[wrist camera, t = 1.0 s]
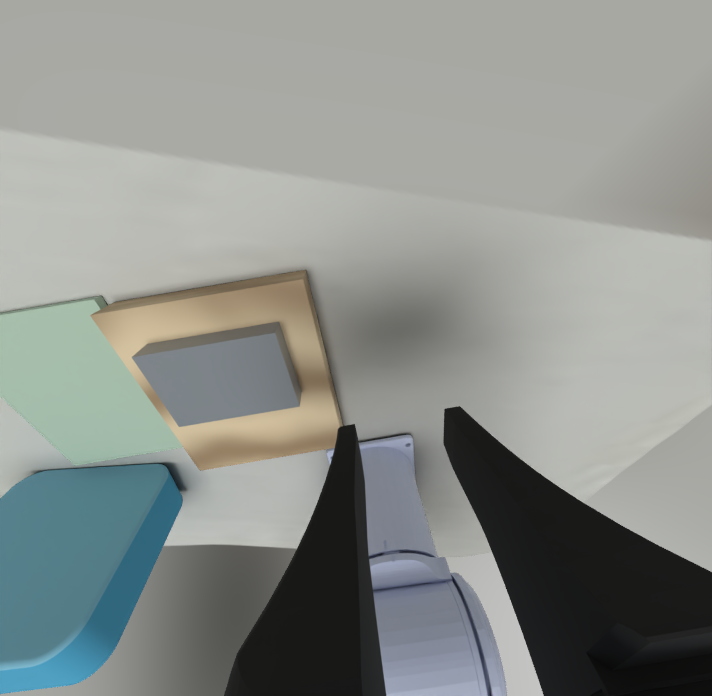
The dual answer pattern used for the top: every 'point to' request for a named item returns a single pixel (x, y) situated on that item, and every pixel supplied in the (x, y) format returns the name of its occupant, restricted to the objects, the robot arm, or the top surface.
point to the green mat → (76, 385)
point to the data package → (76, 567)
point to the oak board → (226, 312)
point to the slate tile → (222, 374)
